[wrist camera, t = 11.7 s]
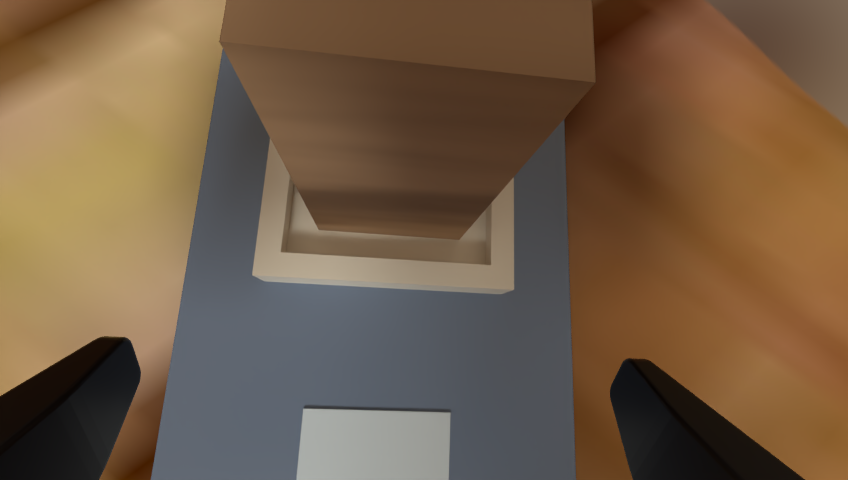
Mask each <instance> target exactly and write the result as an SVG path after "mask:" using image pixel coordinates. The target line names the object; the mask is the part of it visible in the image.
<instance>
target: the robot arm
mask: <svg viewBox="0 0 848 480" xmlns="http://www.w3.org/2000/svg"><path fill="white" fill-rule="evenodd" d="M140 377H141V371H140V367H139V364H138V361H137V358H136V355H135V352H134V349H133V346H132V343H131V341H130V340H129V339H128V338H125V337H109V336H104V337H100V338H97V339H95V340H94V341H92V342H90V343H89V344H87V345H85V346H84V347H82V348H80V349H79V350H77V351H75V352H74V353H72V354H70V355H68V356H67V357H65V358H63V359H62V360H60V361H58V362H57V363H55V364H53V365H52V366H50V367H48V368H47V369H45V370H43V371H42V372H40V373H38V374H37V375H35V376H33V377H32V378H30V379H28V380H26V381H25V382H23V383H21V384H20V385H18V386H16V387H15V388H13V389H11V390H10V391H8V392H6V393H5V394H3V395H1V396H0V480H99V478H100V476H101V474H102V472H103V470H104V468H105V466H106V464H107V461H108V459H109V457H110V454H111V452H112V449H113V447H114V444H115V442H116V439H117V437H118V434H119V432H120V430H121V427H122V425H123V422H124V420H125V417H126V415H127V412H128V410H129V407H130V405H131V402H132V400H133V397H134V395H135V392H136V390H137V387H138V385H139V382H140ZM610 398H611V402H612V406H613V410H614V413H615V417H616V421H617V424H618V428H619V432H620V435H621V439H622V443H623V446H624V450H625V454H626V457H627V461H628V465H629V468H630V471H631V474H632V478H633V480H805V479H803V478H802V477H801V476H799V475H798V474H797V473H796V472H794V471H793V470H792V469H790V468H789V467H788V466H786V465H785V464H784V463H783V462H781V461H780V460H779V459H777V458H776V457H775V456H773V455H772V454H771V453H770V452H768V451H767V450H766V449H764V448H763V447H762V446H760V445H759V444H758V443H757V442H755V441H754V440H753V439H751V438H750V437H749V436H747V435H746V434H745V433H743V432H742V431H741V430H740V429H738V428H737V427H736V426H734V425H733V424H732V423H730V422H729V421H728V420H727V419H725V418H724V417H723V416H721V415H720V414H719V413H717V412H716V411H715V410H714V409H712V408H711V407H710V406H708V405H707V404H706V403H704V402H703V401H702V400H700V399H699V398H698V397H697V396H695V395H694V394H693V393H691V392H690V391H689V390H687V389H686V388H685V387H684V386H682V385H681V384H680V383H678V382H677V381H676V380H674V379H673V378H672V377H671V376H669V375H668V374H667V373H665V372H664V371H663V370H661V369H660V368H659V367H657V366H656V365H655V364H654V363H652V362H651V361H649V360H646V359H631V358H629V359H626V360H625V361H623V363H622V365H621V367H620V369H619V371H618V373H617V375H616V377H615V379H614V381H613V383H612V385H611V389H610Z"/></svg>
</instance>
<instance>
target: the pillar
mask: <svg viewBox="0 0 848 480" xmlns="http://www.w3.org/2000/svg"><path fill="white" fill-rule="evenodd" d="M219 42H220V43H221V45H222V47H223V49H224V51H225V53H226V55H227V57H228V59H229V61H230V62H231V64H232V66H233V68H234V70H235V72H236V74H237V76H238V78H239V80H240V81H241V83H242V85H243V87H244V89H245V91H246V93H247V95H248V97H249V99H250V100H251V102H252V104H253V106H254V108H255V110H256V112H257V114H258V116H259V118H260V119H261V121H262V123H263V125H264V127H265V129H266V131H267V133H268V135H269V137H270V138H271V140H272V142H273V144H274V146H275V148H276V150H277V152H278V154H279V156H280V157H281V159H282V161H283V163H284V165H285V167H286V169H287V171H288V173H289V175H290V176H291V178H292V180H293V182H294V184H295V186H296V188H297V190H298V192H299V194H300V195H301V197H302V199H303V201H304V203H305V205H306V207H307V209H308V211H309V213H310V214H311V216H312V218H313V220H314V222H315V224H316V226H317V228H318V230H325V231H339V232H354V233H368V234H382V235H396V236H411V237H425V238H439V239H454V240H460V238H461V237H462V236H463V235H464V234H465V233H466V232H467V230H468V229H469V228H470V227H471V226H472V225H473V223H474V222H475V221H476V220H477V219H478V218H479V217H480V215H481V214H482V213H483V212H484V211H485V210H486V208H487V207H488V206H489V205H490V204H491V203H492V202H493V200H494V199H495V198H496V197H497V196H498V195H499V193H500V192H501V191H502V190H503V189H504V188H505V187H506V185H507V184H508V183H509V182H510V181H511V180H512V178H513V177H514V176H515V175H516V174H517V173H518V172H519V170H520V169H521V168H522V167H523V166H524V165H525V163H526V162H527V161H528V160H529V159H530V158H531V157H532V155H533V154H534V153H535V152H536V151H537V150H538V148H539V147H540V146H541V145H542V144H543V143H544V142H545V140H546V139H547V138H548V137H549V136H550V135H551V133H552V132H553V131H554V130H555V129H556V128H557V127H558V125H559V124H560V123H561V122H562V121H563V120H564V118H565V117H566V116H567V115H568V114H569V113H570V112H571V110H572V109H573V108H574V107H575V106H576V105H577V103H578V102H579V101H580V100H581V99H582V98H583V97H584V95H585V94H586V93H587V92H588V91H589V90H590V88H591V87H592V86H593V85H594V84H595V83H596V77H595V56H594V35H593V13H592V0H227V1H226V6H225V12H224V18H223V24H222V29H221V35H220V41H219Z"/></svg>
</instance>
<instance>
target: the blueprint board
mask: <svg viewBox="0 0 848 480" xmlns="http://www.w3.org/2000/svg"><path fill="white" fill-rule="evenodd" d="M151 480H576V466H575V435H574V404H573V373H572V342H571V311H570V280H569V249H568V218H567V187H566V156H565V125H564V120H563V121H562V122H561V123H560V124H559V125H558V127H557V128H556V129H555V130H554V131H553V132H552V133H551V135H550V136H549V137H548V138H547V139H546V140H545V142H544V143H543V144H542V145H541V146H540V147H539V148H538V150H537V151H536V152H535V153H534V154H533V155H532V157H531V158H530V159H529V160H528V161H527V162H526V163H525V165H524V166H523V167H522V168H521V169H520V170H519V172H518V173H517V174H516V175H515V176H514V177H513V178H512V180H511V181H510V182H509V183H508V184H507V185H506V187H505V188H504V189H503V190H502V191H501V192H500V193H499V195H498V196H497V197H496V198H495V199H494V200H493V202H492V203H491V204H490V205H489V206H488V207H487V208H486V210H485V211H484V212H483V213H482V214H481V215H480V217H479V218H478V219H477V220H476V221H475V222H474V223H473V225H472V226H471V227H470V228H469V229H468V230H467V232H466V233H465V234H464V235H463V236H462V237H461V238H460V240H454V239H439V238H425V237H411V236H396V235H382V234H368V233H354V232H339V231H325V230H318V228H317V226H316V224H315V222H314V220H313V218H312V216H311V214H310V213H309V211H308V209H307V207H306V205H305V203H304V201H303V199H302V197H301V195H300V194H299V192H298V190H297V188H296V186H295V184H294V182H293V180H292V178H291V176H290V175H289V173H288V171H287V169H286V167H285V165H284V163H283V161H282V159H281V157H280V156H279V154H278V152H277V150H276V148H275V146H274V144H273V142H272V140H271V138H270V137H269V135H268V133H267V131H266V129H265V127H264V125H263V123H262V121H261V119H260V118H259V116H258V114H257V112H256V110H255V108H254V106H253V104H252V102H251V100H250V99H249V97H248V95H247V93H246V91H245V89H244V87H243V85H242V83H241V81H240V80H239V78H238V76H237V74H236V72H235V70H234V68H233V66H232V64H231V62H230V61H229V59H228V57H227V55H226V53H225V51H224V49H223V51H222V57H221V63H220V69H219V75H218V81H217V87H216V93H215V99H214V105H213V111H212V117H211V123H210V129H209V135H208V141H207V147H206V153H205V159H204V165H203V171H202V177H201V183H200V189H199V195H198V201H197V207H196V213H195V219H194V225H193V231H192V237H191V243H190V249H189V255H188V261H187V267H186V273H185V279H184V285H183V291H182V297H181V303H180V309H179V315H178V321H177V327H176V333H175V339H174V345H173V351H172V357H171V363H170V369H169V375H168V381H167V387H166V393H165V399H164V405H163V411H162V417H161V423H160V429H159V435H158V441H157V447H156V453H155V459H154V465H153V471H152V477H151Z"/></svg>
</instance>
